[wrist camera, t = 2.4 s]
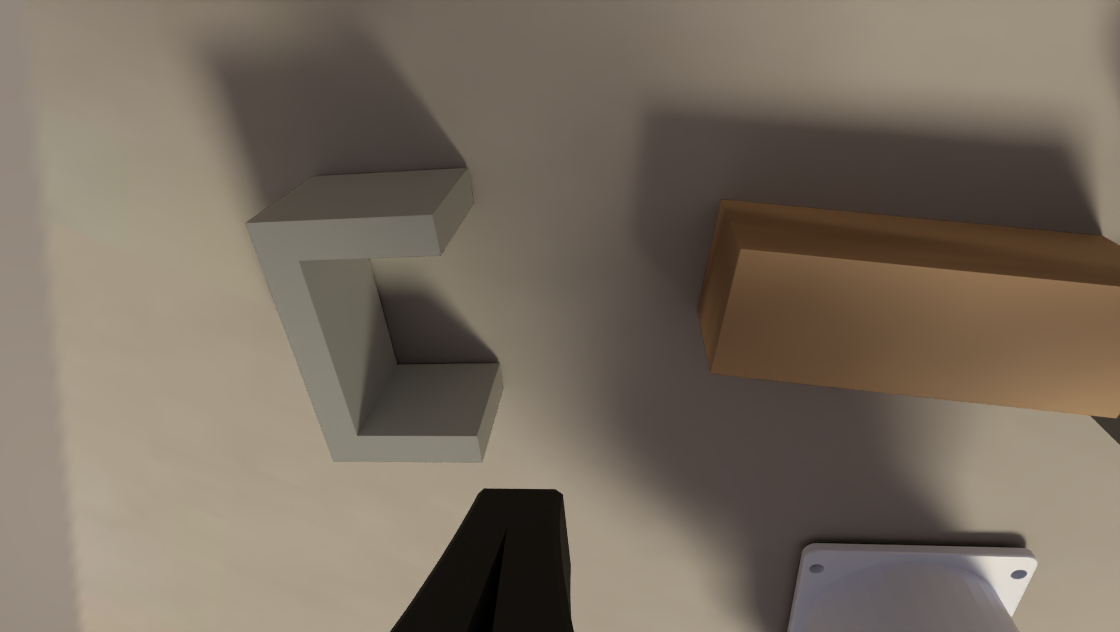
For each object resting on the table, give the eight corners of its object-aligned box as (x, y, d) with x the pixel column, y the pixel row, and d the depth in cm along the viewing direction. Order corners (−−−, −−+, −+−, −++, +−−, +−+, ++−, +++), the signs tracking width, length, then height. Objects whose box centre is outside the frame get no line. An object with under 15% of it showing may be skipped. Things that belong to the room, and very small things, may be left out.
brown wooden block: (1033, 341, 18) (1116, 418, 15) (696, 305, 18) (710, 373, 15) (1096, 232, 16) (1204, 295, 13) (719, 196, 16) (740, 248, 13)
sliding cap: (503, 387, 20) (482, 462, 17) (375, 388, 21) (333, 461, 18) (468, 167, 16) (432, 214, 13) (312, 176, 17) (245, 223, 14)
